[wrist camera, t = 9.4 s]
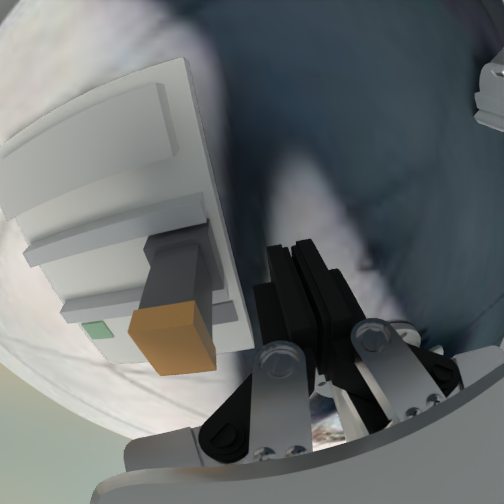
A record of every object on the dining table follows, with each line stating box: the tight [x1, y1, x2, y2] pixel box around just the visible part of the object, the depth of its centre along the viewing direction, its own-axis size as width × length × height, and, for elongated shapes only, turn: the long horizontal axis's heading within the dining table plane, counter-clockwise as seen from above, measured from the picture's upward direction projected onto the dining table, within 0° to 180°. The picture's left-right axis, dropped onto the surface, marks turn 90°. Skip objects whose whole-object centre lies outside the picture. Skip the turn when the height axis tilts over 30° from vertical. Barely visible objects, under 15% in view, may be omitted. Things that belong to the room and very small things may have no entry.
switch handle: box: [127, 219, 224, 376], centre depth 11 cm, size 3×3×6 cm
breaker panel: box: [0, 57, 255, 364], centre depth 14 cm, size 12×18×4 cm, turn 9°
